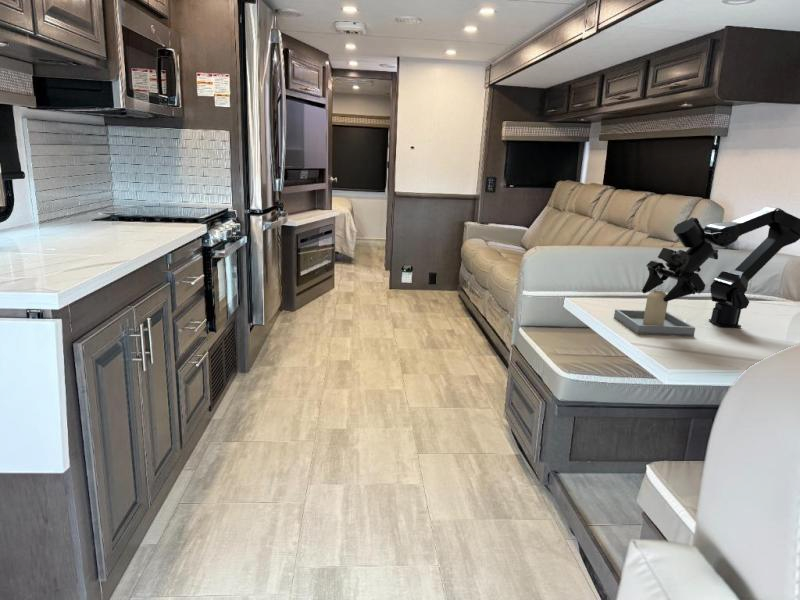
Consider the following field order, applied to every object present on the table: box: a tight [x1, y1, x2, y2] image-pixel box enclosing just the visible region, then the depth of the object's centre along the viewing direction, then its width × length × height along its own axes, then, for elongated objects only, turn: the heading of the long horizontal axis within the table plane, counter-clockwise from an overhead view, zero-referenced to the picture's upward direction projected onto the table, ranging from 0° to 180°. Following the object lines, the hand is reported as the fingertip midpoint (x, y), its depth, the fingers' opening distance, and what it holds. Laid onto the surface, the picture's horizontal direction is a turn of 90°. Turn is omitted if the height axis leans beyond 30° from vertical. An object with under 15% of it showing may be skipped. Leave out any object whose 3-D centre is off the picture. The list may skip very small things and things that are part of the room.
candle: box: [643, 289, 669, 326], centre depth 159 cm, size 6×6×10 cm
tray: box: [613, 309, 696, 337], centre depth 160 cm, size 16×16×2 cm
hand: (653, 296), depth 158 cm, fingers open, 9 cm apart
